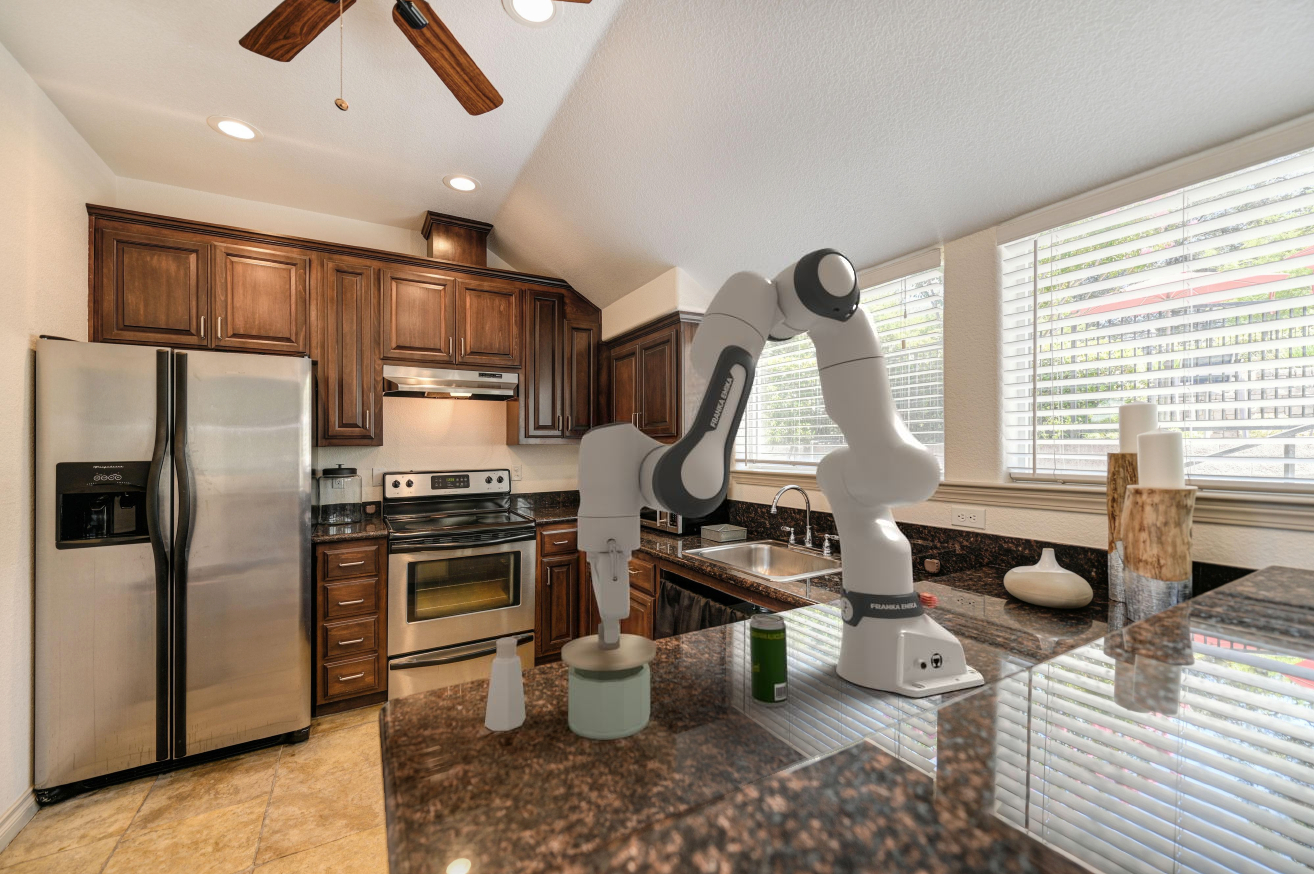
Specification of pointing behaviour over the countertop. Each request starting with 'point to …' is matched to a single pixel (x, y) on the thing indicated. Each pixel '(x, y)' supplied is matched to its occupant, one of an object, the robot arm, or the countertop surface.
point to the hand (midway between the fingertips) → (609, 636)
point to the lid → (608, 652)
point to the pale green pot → (609, 702)
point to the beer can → (768, 660)
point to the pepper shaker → (505, 689)
